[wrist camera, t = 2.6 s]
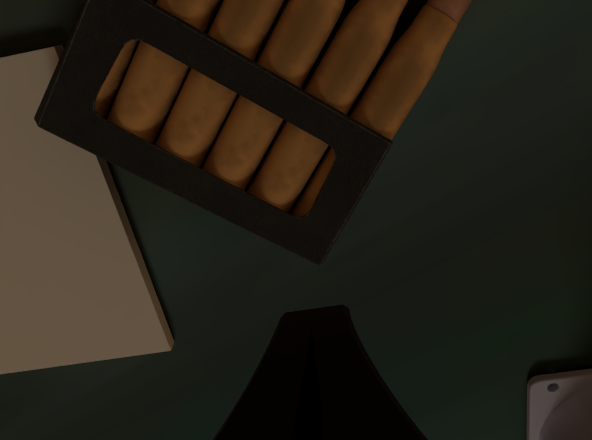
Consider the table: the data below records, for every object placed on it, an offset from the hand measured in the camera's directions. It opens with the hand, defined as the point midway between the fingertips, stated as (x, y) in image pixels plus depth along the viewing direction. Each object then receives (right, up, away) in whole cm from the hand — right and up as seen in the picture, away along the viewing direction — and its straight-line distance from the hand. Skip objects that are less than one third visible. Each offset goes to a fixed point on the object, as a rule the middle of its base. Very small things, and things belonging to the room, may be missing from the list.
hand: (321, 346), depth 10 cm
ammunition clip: (-4, +3, +7) cm, 9 cm away
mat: (-13, +2, +10) cm, 17 cm away
